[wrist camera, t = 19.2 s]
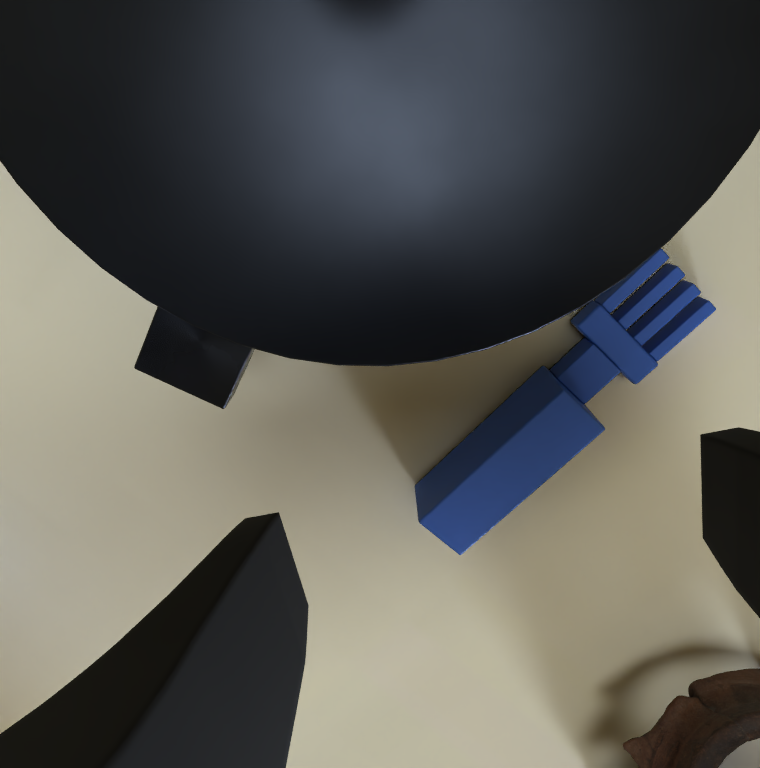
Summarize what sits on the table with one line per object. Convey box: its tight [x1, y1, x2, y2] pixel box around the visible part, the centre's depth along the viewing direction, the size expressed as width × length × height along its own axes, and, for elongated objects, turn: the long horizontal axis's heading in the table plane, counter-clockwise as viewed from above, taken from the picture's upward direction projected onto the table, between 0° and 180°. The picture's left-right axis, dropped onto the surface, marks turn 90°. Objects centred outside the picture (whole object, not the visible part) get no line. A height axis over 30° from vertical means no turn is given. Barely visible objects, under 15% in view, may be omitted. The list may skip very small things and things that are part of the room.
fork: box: [415, 248, 716, 555], centre depth 19 cm, size 11×3×2 cm, turn 138°
